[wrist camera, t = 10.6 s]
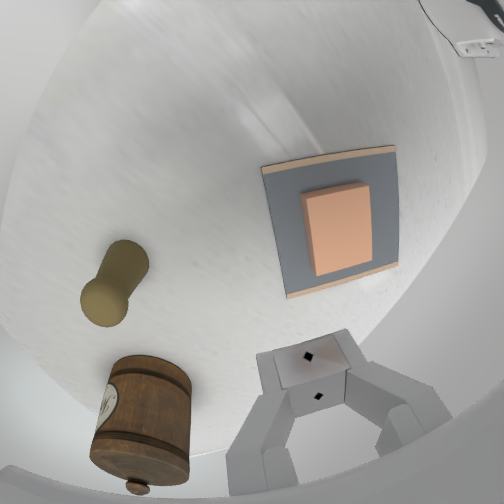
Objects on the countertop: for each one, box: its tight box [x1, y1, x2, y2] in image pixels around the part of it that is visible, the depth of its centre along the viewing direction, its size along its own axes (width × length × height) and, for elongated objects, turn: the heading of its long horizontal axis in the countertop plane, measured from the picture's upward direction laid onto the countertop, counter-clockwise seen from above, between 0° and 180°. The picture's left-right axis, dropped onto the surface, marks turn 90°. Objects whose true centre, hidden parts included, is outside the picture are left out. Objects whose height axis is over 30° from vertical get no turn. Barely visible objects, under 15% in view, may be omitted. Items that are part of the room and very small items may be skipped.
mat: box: [261, 145, 399, 299], centre depth 34 cm, size 18×18×1 cm
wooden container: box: [90, 356, 192, 495], centre depth 33 cm, size 15×15×22 cm
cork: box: [80, 240, 149, 327], centre depth 28 cm, size 6×6×11 cm
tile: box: [300, 182, 372, 276], centre depth 33 cm, size 2×10×8 cm
